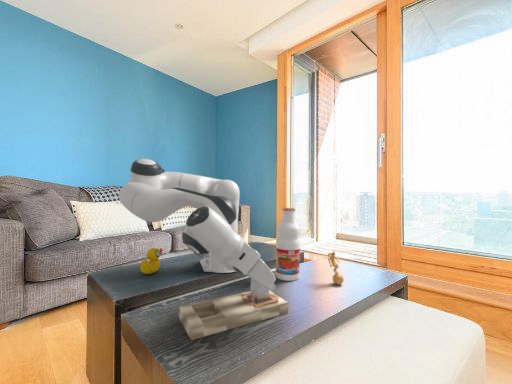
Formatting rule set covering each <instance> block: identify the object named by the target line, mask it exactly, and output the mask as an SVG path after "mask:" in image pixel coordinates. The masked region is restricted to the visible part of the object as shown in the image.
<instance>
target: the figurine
mask: <svg viewBox="0 0 512 384" xmlns="http://www.w3.org/2000/svg"><path fill="white" fill-rule="evenodd" d="M327 257H328V258H327V260H328V264H329V266H330V268H332V267H333V269H332V270H333V273H334V274H333V275H332V281H333V283H334V284H335V285H337V286H338V285H342V284H343V283H344V277H343V275H342V274H340V272H338V271H337V269H339V264H338V263H340V261H339V260H338V258H337V257H336V252H335V251H332V252H328V254H327ZM336 261H337V262H338V263H337V262H336Z"/></svg>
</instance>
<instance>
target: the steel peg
mask: <svg viewBox="0 0 512 384" xmlns="http://www.w3.org/2000/svg"><path fill="white" fill-rule="evenodd" d="M250 291H251V298H250V300H252V301H253V302H254V303H255V304H257V303H261V302H265V301H269V289H267V288H265V287H264V286H262V285H261V284H259V283H258V282H256V281H255V280H253V279H252V278H250Z"/></svg>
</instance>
